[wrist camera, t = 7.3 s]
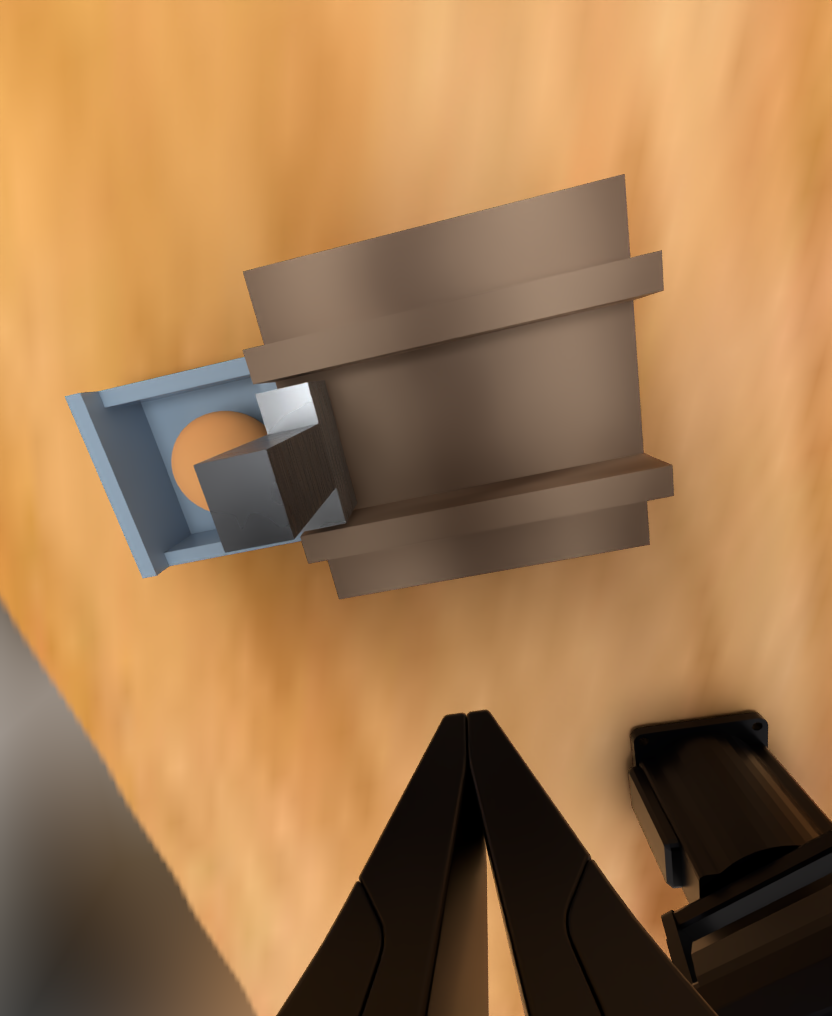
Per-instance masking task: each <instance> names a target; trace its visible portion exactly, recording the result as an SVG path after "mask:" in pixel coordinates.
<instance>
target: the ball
mask: <svg viewBox="0 0 832 1016" xmlns="http://www.w3.org/2000/svg"><path fill="white" fill-rule="evenodd" d="M265 435H268V434H267V431H266V428H265V425H264V424H262V423H261V422H260V421H258V420H256V419H255V418H253V417H251V416H248V415H246V414H243V413H239V412H234V411H217V412H211V413H208V414H205V415H202V416H200V417H198V418H196V419H195V420H193V421H192V422H190V423H189V424H188V425H187V426H186V427H185V428H184V429H183V430H182V431H181V433H180V434H179V436H178V437H177V439H176V442H175V444H174V447H173V451H172V457H171V465H172V471H173V475H174V478H175V480H176V483H177V485H178V486H179V488H180V489H181V491H182V492H183V493H184V495H185V496H186V497H187V498H188V499H189V500H190V501H192V502H193V503H194V504H196V505H197V506H199V507H201V508H203V509H205V510H207V511H210V510H209V507H208V505H207V502H206V499H205V496H204V494H203V491H202V488H201V485H200V483H199V480H198V477H197V474H196V472H195V469H194V466H193V465H195V464H197V463H200V462H202V461H205V460H207V459H209V458H212V457H214V456H217V455H219V454H222V453H224V452H226V451H229V450H231V449H234V448H236V447H239V446H241V445H243V444H246V443H248V442H251V441H253V440H256V439H258V438H260V437H263V436H265Z"/></svg>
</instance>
